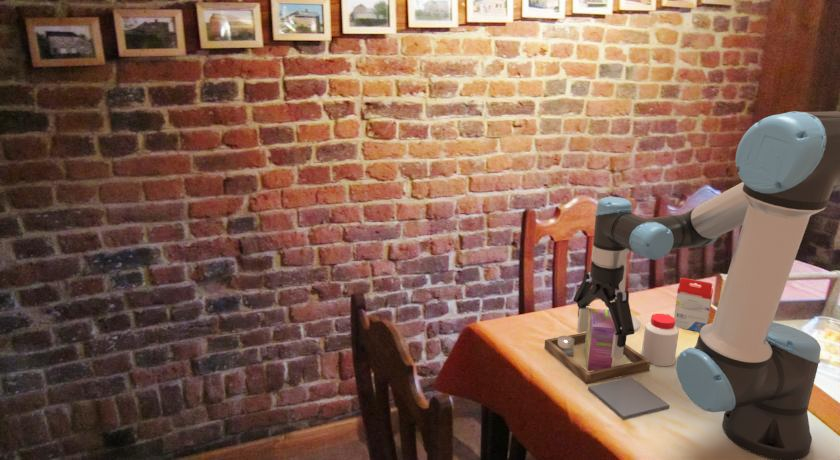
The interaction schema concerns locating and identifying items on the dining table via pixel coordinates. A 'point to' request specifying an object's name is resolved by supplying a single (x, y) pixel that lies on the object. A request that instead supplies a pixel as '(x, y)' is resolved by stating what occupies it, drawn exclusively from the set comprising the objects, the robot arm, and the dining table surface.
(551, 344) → the wooden tray
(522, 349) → the dining table surface
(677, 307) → the ink box
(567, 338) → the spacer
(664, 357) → the pill bottle
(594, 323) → the box
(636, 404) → the coaster
